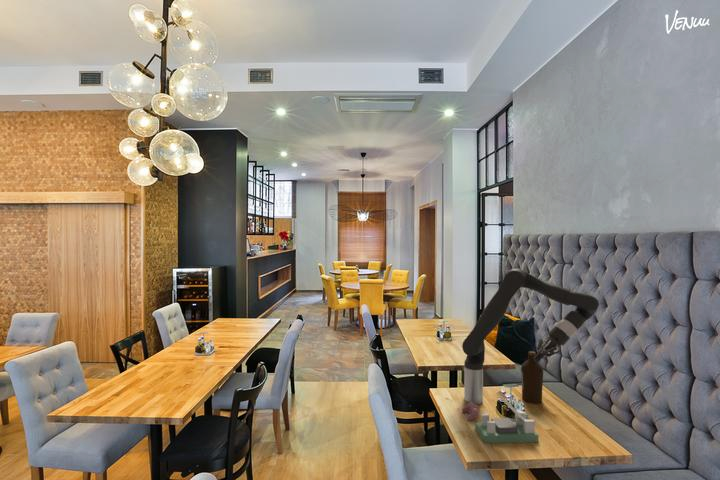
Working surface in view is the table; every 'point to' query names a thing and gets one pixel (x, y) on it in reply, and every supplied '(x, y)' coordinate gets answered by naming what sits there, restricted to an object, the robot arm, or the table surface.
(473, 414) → the pink rounded lump
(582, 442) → the table surface
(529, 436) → the clip base
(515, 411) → the retention strap
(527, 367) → the olive oil
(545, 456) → the table surface
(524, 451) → the table surface
